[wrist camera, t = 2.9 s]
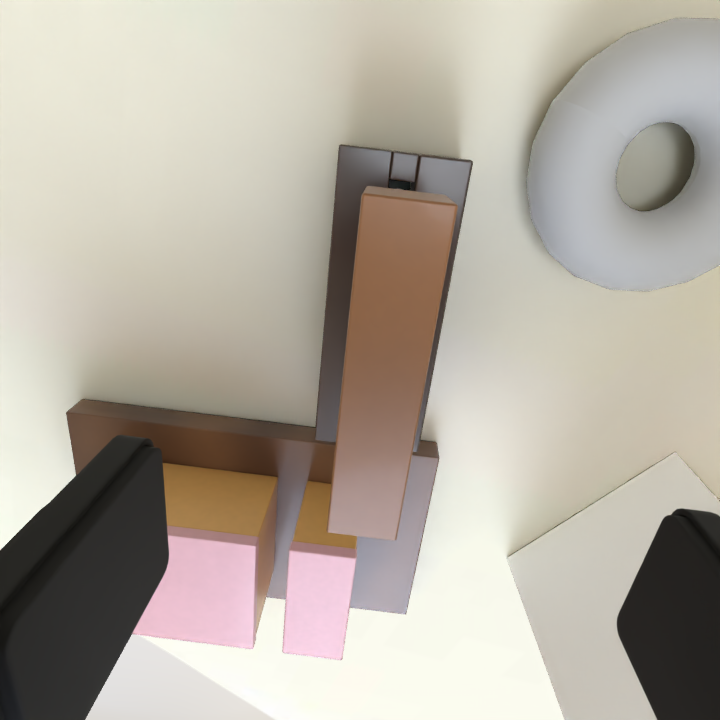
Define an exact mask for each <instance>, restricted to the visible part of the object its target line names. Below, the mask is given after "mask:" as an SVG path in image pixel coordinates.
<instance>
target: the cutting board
mask: <svg viewBox="0 0 720 720" xmlns="http://www.w3.org/2000/svg"><path fill="white" fill-rule="evenodd" d="M66 415H67V421H68V427H69V433H70V439H71V445H72V452H73V458H74V464H75V470H76V475H77V474H78V473H79V472H80V471H81V470H82V469H83V468H84V467H85V466H86V465H87V464H88V463H89V462H90V461H91V460H92V459H93V458H94V457H95V456H96V455H97V454H98V453H99V452H100V451H101V450H102V449H103V448H104V447H105V446H106V445H107V444H108V443H109V442H110V441H111V440H112V439H113V438H114V437H116V436H117V435H126V436H134V437H141V438H149V439H151V440H152V442H153V445H154V447H157V448H160V450H161V452H162V461H163V463H168V464H176V465H184V466H192V467H201V468H209V469H217V470H225V471H233V472H241V473H249V474H257V475H265V476H274V477H278V490H277V511H276V532H275V552H274V570H273V574H272V577H271V581H270V585H269V588H268V592H267V596H266V597H270V598H278V599H286V589H287V574H288V558H289V548H290V544H291V542H292V541H293V537H294V533H295V529H296V525H297V521H298V517H299V512H300V508H301V504H302V500H303V496H304V492H305V488H306V484H307V481H313V482H321V483H329V484H331V482H332V472H333V463H334V453H335V444H336V442H329V441H321V440H315V428H313V427H305V426H297V425H289V424H281V423H272V422H264V421H256V420H248V419H240V418H232V417H223V416H215V415H207V414H199V413H191V412H183V411H175V410H166V409H158V408H150V407H142V406H134V405H126V404H117V403H109V402H101V401H93V400H85V399H82V400H81V401H79V402H78V403H77V404H76V405H74V406H73V407H72V408H71V409H69V410H68V411H67V412H66ZM438 462H439V454H438V448H437V443H435V442H427V441H420V444H419V449H418V451H417V452H413V453H412V458H411V463H410V469H409V474H408V480H407V485H406V491H405V496H404V501H403V507H402V512H401V518H400V523H399V528H398V534H397V539H396V540H395V541H393V540H385V539H377V538H368V537H360V536H357V545H356V549H357V559H356V566H355V573H354V580H353V587H352V594H351V601H350V607H351V608H359V609H367V610H375V611H383V612H391V613H399V614H406V612H407V607H408V603H409V598H410V593H411V588H412V584H413V579H414V574H415V570H416V565H417V560H418V556H419V551H420V546H421V542H422V537H423V532H424V527H425V523H426V518H427V513H428V509H429V504H430V499H431V495H432V490H433V485H434V481H435V476H436V471H437V467H438Z"/></svg>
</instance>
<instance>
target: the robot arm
mask: <svg viewBox="0 0 720 720" xmlns="http://www.w3.org/2000/svg"><path fill="white" fill-rule="evenodd" d="M168 561H169V545H168V531H167V517H166V503H165V489H164V475H163V461H162V452H161V450H160V448H157V447H154V445H153V442H152V440H151V439H149V438H141V437H134V436H126V435H117V436H116V437H114V438H113V439H112V440H111V441H110V442H109V443H108V444H107V445H106V446H105V447H104V448H103V449H102V450H101V451H100V452H99V453H98V454H97V455H96V456H95V457H94V458H93V459H92V460H91V461H90V462H89V463H88V464H87V465H86V466H85V467H84V468H83V469H82V470H81V471H80V472H79V473H78V474H77V475H76V476H75V477H74V478H73V479H72V480H71V481H70V482H69V483H68V485H67V486H66V487H65V488H64V489H63V490H62V491H61V492H60V493H59V494H58V495H57V496H56V497H55V498H54V499H53V500H52V501H51V502H50V503H49V504H47V505H46V506H45V507H44V508H42V509H41V510H40V511H39V512H38V513H37V514H36V515H35V516H34V517H33V518H32V519H31V520H30V521H29V522H28V523H27V524H26V525H25V526H24V527H23V528H22V529H21V530H20V531H19V532H18V533H17V534H16V535H15V536H14V537H13V538H12V539H11V540H10V541H9V542H8V543H7V544H6V545H5V546H4V547H3V548H2V549H1V550H0V720H85V719H86V717H87V715H88V713H89V711H90V710H91V708H92V706H93V704H94V702H95V700H96V698H97V697H98V695H99V693H100V691H101V689H102V688H103V686H104V684H105V682H106V680H107V679H108V677H109V675H110V673H111V671H112V669H113V667H114V666H115V664H116V662H117V660H118V658H119V657H120V654H121V653H122V651H123V649H124V647H125V645H126V643H127V642H128V640H129V638H130V636H131V635H132V633H133V631H134V629H135V627H136V625H137V624H138V622H139V620H140V618H141V616H142V615H143V613H144V611H145V609H146V607H147V605H148V604H149V602H150V600H151V598H152V596H153V594H154V593H155V591H156V589H157V587H158V585H159V583H160V582H161V580H162V578H163V576H164V574H165V572H166V569H167V565H168ZM617 631H618V635H619V638H620V640H621V642H622V645H623V647H624V649H625V651H626V653H627V655H628V658H629V660H630V662H631V664H632V666H633V668H634V671H635V673H636V675H637V677H638V679H639V682H640V684H641V686H642V688H643V690H644V692H645V695H646V697H647V699H648V701H649V703H650V705H651V708H652V710H653V712H654V714H655V716H656V718H657V720H720V516H719V515H717V514H715V513H712V512H707V511H699V510H691V509H684V508H680V509H676V510H675V511H673V513H672V514H671V515H667V516H665V517H664V518H663V520H662V522H661V524H660V526H659V528H658V530H657V532H656V534H655V537H654V539H653V541H652V543H651V545H650V547H649V549H648V552H647V554H646V556H645V558H644V560H643V562H642V564H641V567H640V569H639V571H638V573H637V575H636V577H635V579H634V582H633V584H632V586H631V588H630V590H629V592H628V594H627V597H626V599H625V601H624V603H623V605H622V607H621V609H620V612H619V614H618V617H617Z"/></svg>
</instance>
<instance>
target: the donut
mask: <svg viewBox="0 0 720 720" xmlns="http://www.w3.org/2000/svg"><path fill="white" fill-rule="evenodd" d="M660 122H673V123H675V124H678V125H680V126H682V127H683V128H684V129H685V131H686V132H687V133H688V134H689V135H690V136H691V139H692V142H693V144H694V152H695V162H694V165H693V168H692V172H691V175H690V178H689V180H688V181H687V183H686V184H685V186H684V188H683V189H682V191H681V192H680V193H679V194H678V195H677V196H676V197H675V198H674V199H673V200H672V201H670V202H669V203H667V204H665V205H664V206H662V207H660V208H658V209H655V210H651V211H637V210H634V209H632V208H630V207H628V206H627V205H626V204H625V203H624V202H623V201H622V199H621V197H620V195H619V192H618V190H617V183H616V172H617V168H618V164H619V159H620V158H621V156H622V154H623V152H624V150H625V148H626V147H627V145H628V144H629V143H630V142H631V141H632V140H633V138H634V137H635V136H636V135H637V134H638V133H639V132H641V131H642V130H644V129H645V128H647V127H649V126H650V125H653V124H656V123H660ZM526 186H527V193H528V200H529V207H530V214H531V220H532V222H533V224H534V226H535V228H536V230H537V232H538V234H539V236H540V237H541V239H542V241H543V243H544V245H545V247H546V249H547V251H548V253H549V254H550V255H551V256H552V257H554V258H555V259H556V260H557V261H558V262H559V263H560V264H561V265H563V266H564V267H565V268H566V269H567V270H568V271H569V272H570V273H572V274H573V275H574V276H576V277H578V278H581V279H584V280H586V281H589V282H591V283H594V284H596V285H599V286H602V287H604V288H607V289H611V290H630V291H652V290H656V289H660V288H664V287H668V286H673V285H677V284H681V283H685V282H688V281H690V280H693V279H694V278H696V277H698V276H700V275H702V274H704V273H706V272H708V271H710V270H711V269H713V268H715V267H717V266H719V265H720V19H709V18H674V19H670V20H667V21H664V22H661V23H658V24H655V25H652V26H649V27H646V28H643V29H640V30H637V31H633V32H630V33H627V34H626V35H624V36H623V37H621V38H620V39H619V40H617V41H616V42H614V43H613V44H611V45H610V46H609V47H607V48H606V49H604V50H603V51H601V52H600V53H598V54H597V55H596V56H594V57H593V58H591V59H590V60H588V61H587V62H586V63H585V64H584V65H583V66H582V67H581V68H580V69H579V70H578V72H577V73H576V74H575V75H574V76H573V78H572V79H571V80H570V81H569V82H568V83H567V85H566V86H565V87H564V88H563V89H562V91H561V92H560V93H559V94H558V95H557V97H556V98H555V99H554V100H553V101H552V103H551V105H550V107H549V109H548V111H547V113H546V115H545V118H544V120H543V122H542V124H541V126H540V128H539V130H538V133H537V135H536V137H535V139H534V141H533V144H532V150H531V156H530V162H529V168H528V174H527V181H526Z"/></svg>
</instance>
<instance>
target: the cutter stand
mask: <svg viewBox="0 0 720 720" xmlns="http://www.w3.org/2000/svg"><path fill="white" fill-rule="evenodd" d="M472 165H473V161H471V160H466V159H459V158H451V157H442V156H434V155H425V154H416V153H409V152H400V151H391V150H384V149H375V148H367V147H359V146H350V145H339V152H338V164H337V176H336V188H335V200H334V212H333V224H332V236H331V248H330V260H329V272H328V284H327V296H326V308H325V320H324V332H323V344H322V356H321V368H320V380H319V392H318V404H317V416H316V428H315V440H321V441H329V442H336V434H337V425H338V415H339V406H340V396H341V387H342V377H343V368H344V358H345V349H346V339H347V330H348V320H349V310H350V301H351V291H352V282H353V272H354V263H355V253H356V244H357V234H358V225H359V215H360V206H361V196H362V194H363V192H364V190H365V188H366V187H367V186H375V187H383V188H388V185H389V177H390V179H391V180H398V181H406V182H411V185H410V191H416V192H425V193H433V194H441V195H446V196H447V197H448V198H450V199H451V200H452V201H453V202H454V203H456V204H457V206H458V209H457V214H456V220H455V225H454V231H453V236H452V241H451V247H450V252H449V258H448V263H447V268H446V274H445V279H444V285H443V290H442V296H441V301H440V306H439V312H438V317H437V323H436V328H435V333H434V339H433V344H432V350H431V355H430V361H429V366H428V371H427V377H426V382H425V388H424V393H423V398H422V404H421V409H420V415H419V420H418V426H417V431H416V436H415V442H414V447H413V452H417V451H418V449H419V444H420V438H421V433H422V428H423V423H424V417H425V412H426V407H427V402H428V396H429V391H430V386H431V381H432V375H433V370H434V365H435V359H436V354H437V349H438V344H439V338H440V333H441V328H442V323H443V317H444V312H445V307H446V302H447V296H448V291H449V286H450V281H451V275H452V270H453V265H454V260H455V254H456V249H457V244H458V238H459V233H460V228H461V223H462V217H463V212H464V207H465V202H466V196H467V191H468V186H469V181H470V175H471V170H472Z"/></svg>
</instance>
